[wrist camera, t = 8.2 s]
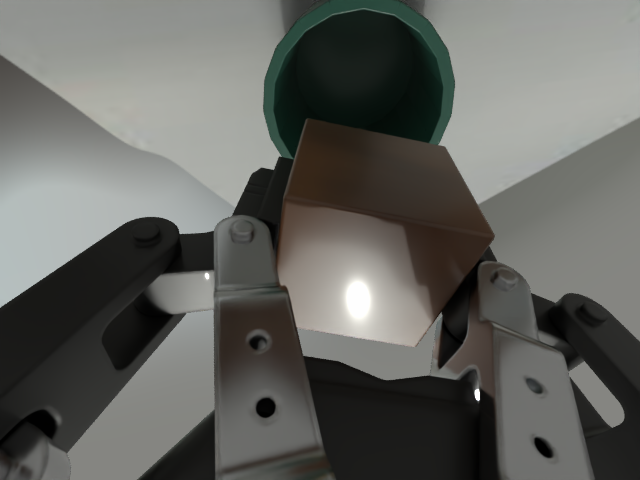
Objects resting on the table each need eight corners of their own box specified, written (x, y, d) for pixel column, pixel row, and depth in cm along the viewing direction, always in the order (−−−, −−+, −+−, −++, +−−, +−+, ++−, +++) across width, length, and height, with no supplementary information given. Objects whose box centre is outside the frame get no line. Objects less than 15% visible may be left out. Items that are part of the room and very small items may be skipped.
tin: (263, 67, 26) (226, 109, 18) (361, -55, 21) (370, -73, 13) (347, 153, 30) (347, 218, 22) (445, 70, 25) (490, 116, 17)
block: (289, 228, 13) (267, 324, 9) (305, 116, 10) (283, 195, 6) (397, 248, 13) (416, 348, 10) (446, 145, 10) (498, 237, 7)
